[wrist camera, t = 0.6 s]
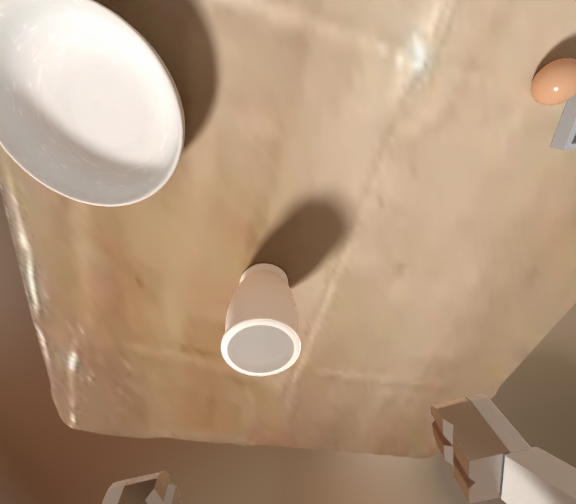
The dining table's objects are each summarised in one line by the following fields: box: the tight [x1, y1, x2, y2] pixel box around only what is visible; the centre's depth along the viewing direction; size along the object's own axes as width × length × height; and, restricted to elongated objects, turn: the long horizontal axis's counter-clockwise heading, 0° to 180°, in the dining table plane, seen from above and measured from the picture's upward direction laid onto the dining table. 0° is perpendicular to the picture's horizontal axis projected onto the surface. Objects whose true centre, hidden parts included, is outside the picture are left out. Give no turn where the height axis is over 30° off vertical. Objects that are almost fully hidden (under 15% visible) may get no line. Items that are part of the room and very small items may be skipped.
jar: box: [221, 263, 301, 376], centre depth 45 cm, size 11×10×15 cm
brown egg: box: [531, 58, 576, 105], centre depth 36 cm, size 5×5×5 cm
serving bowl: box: [0, 0, 185, 206], centre depth 35 cm, size 21×21×7 cm
